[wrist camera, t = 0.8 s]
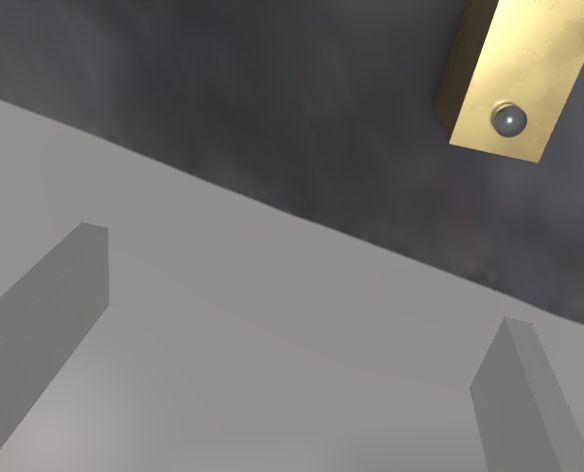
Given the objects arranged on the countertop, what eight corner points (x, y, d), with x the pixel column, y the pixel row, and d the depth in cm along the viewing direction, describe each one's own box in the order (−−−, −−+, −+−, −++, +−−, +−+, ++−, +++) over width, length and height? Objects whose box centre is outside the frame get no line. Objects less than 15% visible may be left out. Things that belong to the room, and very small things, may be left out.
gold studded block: (499, -98, 29) (545, -117, 21) (585, -81, 29) (662, -93, 21) (433, 106, 35) (451, 148, 27) (504, 121, 35) (542, 168, 27)
